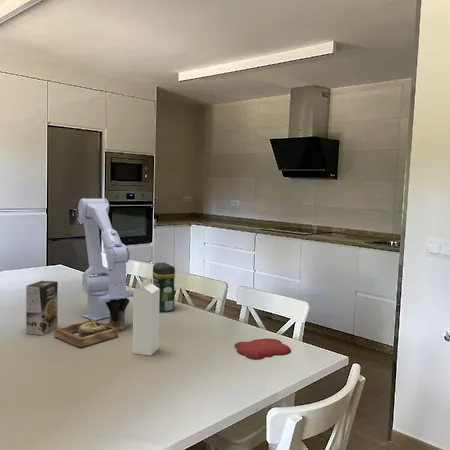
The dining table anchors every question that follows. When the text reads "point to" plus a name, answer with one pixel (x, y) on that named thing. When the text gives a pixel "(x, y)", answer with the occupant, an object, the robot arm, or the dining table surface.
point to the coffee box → (41, 307)
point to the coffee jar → (164, 285)
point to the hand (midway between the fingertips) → (117, 320)
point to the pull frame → (111, 332)
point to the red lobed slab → (262, 348)
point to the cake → (90, 329)
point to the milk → (146, 319)
